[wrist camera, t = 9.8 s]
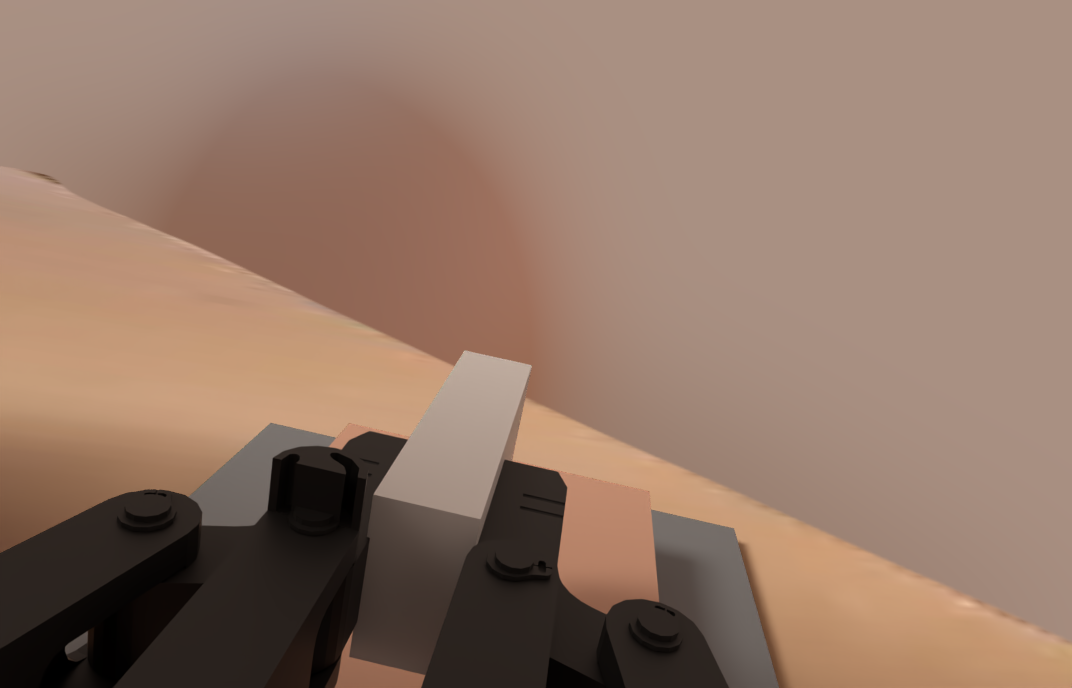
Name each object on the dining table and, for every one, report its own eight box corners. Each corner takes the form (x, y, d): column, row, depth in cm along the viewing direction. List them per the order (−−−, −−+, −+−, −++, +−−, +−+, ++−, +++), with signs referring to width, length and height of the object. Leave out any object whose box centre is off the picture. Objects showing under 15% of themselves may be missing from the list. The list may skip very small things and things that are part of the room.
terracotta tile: (122, 687, 13) (348, 423, 25) (118, 793, 14) (340, 490, 26) (679, 822, 13) (649, 491, 25) (644, 923, 14) (631, 557, 25)
